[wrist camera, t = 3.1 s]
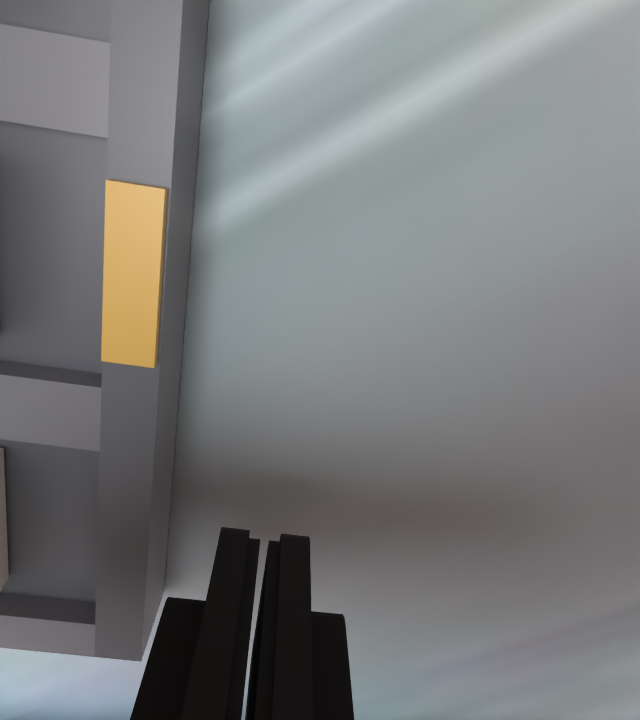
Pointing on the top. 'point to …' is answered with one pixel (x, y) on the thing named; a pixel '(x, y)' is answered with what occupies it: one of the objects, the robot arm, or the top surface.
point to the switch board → (93, 309)
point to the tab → (3, 526)
